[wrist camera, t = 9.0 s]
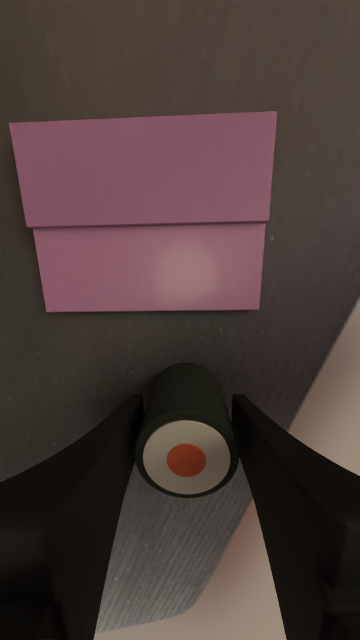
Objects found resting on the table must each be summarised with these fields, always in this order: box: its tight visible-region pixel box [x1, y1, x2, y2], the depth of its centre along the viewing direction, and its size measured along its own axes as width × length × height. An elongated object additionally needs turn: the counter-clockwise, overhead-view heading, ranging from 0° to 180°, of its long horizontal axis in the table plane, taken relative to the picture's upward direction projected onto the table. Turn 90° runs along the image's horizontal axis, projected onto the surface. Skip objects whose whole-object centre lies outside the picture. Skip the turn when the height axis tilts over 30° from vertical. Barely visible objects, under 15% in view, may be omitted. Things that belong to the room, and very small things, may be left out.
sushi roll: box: [134, 363, 239, 498], centre depth 10 cm, size 4×4×5 cm
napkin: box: [9, 111, 277, 312], centre depth 10 cm, size 12×9×1 cm
